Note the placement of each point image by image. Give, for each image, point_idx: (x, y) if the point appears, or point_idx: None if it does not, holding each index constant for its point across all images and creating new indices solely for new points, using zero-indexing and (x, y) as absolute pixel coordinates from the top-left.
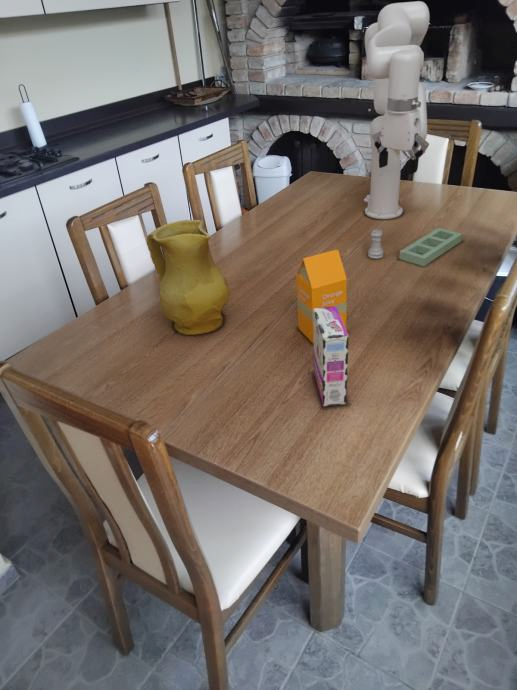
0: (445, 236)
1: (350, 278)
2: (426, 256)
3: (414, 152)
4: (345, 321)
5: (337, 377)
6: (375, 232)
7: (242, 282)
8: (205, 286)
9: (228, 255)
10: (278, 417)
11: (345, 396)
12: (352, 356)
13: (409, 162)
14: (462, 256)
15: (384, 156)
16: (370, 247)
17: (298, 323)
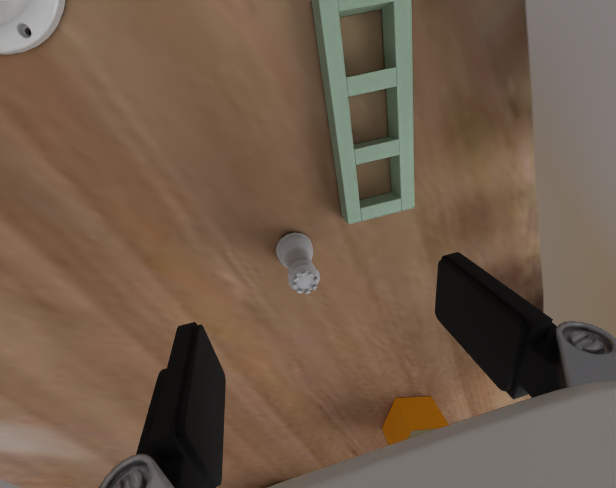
0: (356, 12)
1: (332, 332)
2: (412, 197)
3: (565, 387)
4: (441, 413)
5: None
6: (307, 287)
7: (224, 451)
8: None
9: (97, 451)
10: None
11: None
12: (461, 405)
13: (493, 377)
14: (447, 83)
15: (209, 433)
16: (283, 263)
17: (385, 436)
